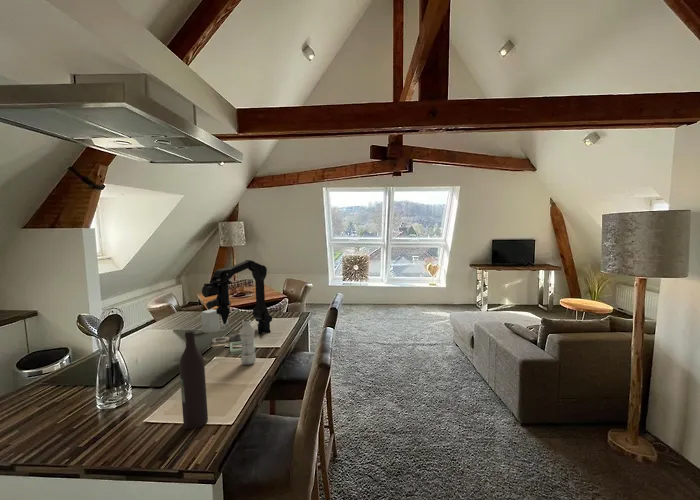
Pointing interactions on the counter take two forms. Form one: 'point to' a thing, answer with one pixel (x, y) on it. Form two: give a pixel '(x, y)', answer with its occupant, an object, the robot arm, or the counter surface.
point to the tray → (237, 349)
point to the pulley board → (226, 340)
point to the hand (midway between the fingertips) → (224, 322)
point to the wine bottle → (193, 385)
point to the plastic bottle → (247, 343)
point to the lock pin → (224, 324)
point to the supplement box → (210, 321)
